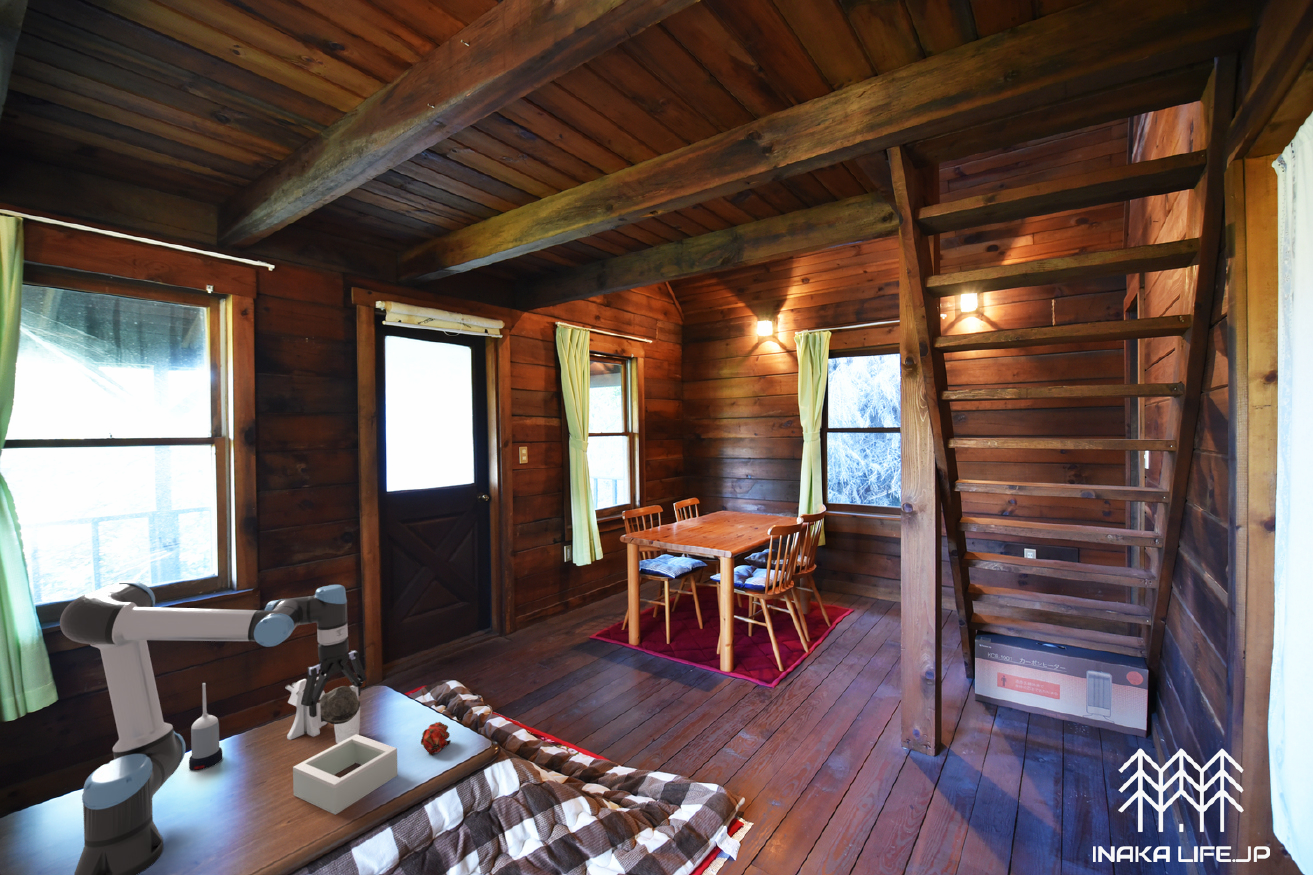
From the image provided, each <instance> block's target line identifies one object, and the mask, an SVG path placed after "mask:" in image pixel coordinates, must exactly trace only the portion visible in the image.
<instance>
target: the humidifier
mask: <svg viewBox="0 0 1313 875" xmlns="http://www.w3.org/2000/svg"><path fill="white" fill-rule="evenodd" d="M201 684H202V686H201V687H202V715H201V716H200V717H199V718H197V719H196V720H195V721H194V722H193V723H192V725H191V729H190V733H191V734H190V736H191V738H190V740H191V741H190V742H191V755H190V756H189V758H188V759H189V760H188V769H189V770H190V771H193V772H195V771H202V770H206V769H209V768H212V767H214V766H216V765H217V764H219V763H220V762H221V761H222V760H223V749H222V747H220V722H219V719H218V717H216V716H215V715H212V714H209V713H208V711H207V690H206V685H207V684H206V682H202V683H201Z"/></svg>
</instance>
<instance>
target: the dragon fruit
mask: <svg viewBox="0 0 1313 875" xmlns="http://www.w3.org/2000/svg"><path fill="white" fill-rule="evenodd" d="M448 729H449V726H448V725H447V724H445V723H443V722H441V721H437V722H435V723H432V724H430V725H429V726H428V727H427V728H426V729H425V730H424V731H423V732H422V734H421V735H422V736H421V740H420V745H422V746H423V748H424V749H425V750H426V752H428V754H429V755H430V756H434V754H438V753H440V752H441V751H442V750H443V749H444V748H445V747H447V746H449V745H450V744H451V741H452V740H451V739H449V738H450V736H451V735H450V733H449V732H448ZM448 739H449V740H448Z"/></svg>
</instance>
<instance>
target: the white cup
mask: <svg viewBox="0 0 1313 875" xmlns="http://www.w3.org/2000/svg"><path fill="white" fill-rule="evenodd" d="M360 720H361V707H360V708H359V710H358V712H357V713H356V715H355V716H354V717H353V718H352V719H351V720H349V721H348V722H345V723H342V724H333V728H334V735H335V743H336V744H338V743H340V742H342V741H344V740H346V739H348V738H350V737H352V736H354V735H355V734H357V735H360V726H361V724H360V723H361V721H360Z"/></svg>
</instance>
